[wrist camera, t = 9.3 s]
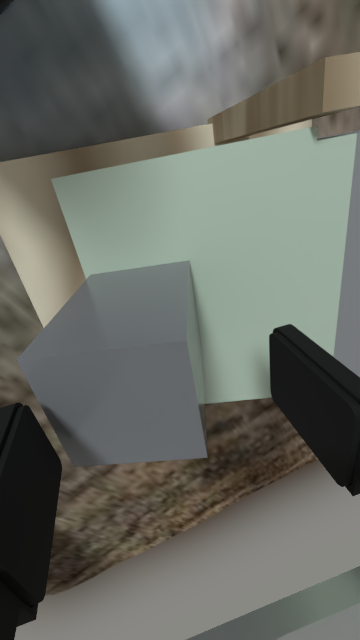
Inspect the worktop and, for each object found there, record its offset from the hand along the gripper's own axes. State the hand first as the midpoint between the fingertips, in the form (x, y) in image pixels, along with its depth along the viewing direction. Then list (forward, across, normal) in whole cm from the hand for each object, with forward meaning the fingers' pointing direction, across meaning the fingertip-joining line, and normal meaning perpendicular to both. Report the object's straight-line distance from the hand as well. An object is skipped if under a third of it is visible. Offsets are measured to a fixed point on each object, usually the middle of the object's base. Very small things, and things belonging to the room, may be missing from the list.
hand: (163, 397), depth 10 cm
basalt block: (+7, 0, 0) cm, 7 cm away
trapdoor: (+10, -7, 0) cm, 12 cm away
